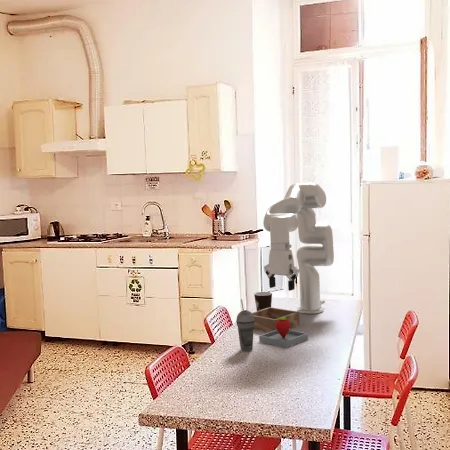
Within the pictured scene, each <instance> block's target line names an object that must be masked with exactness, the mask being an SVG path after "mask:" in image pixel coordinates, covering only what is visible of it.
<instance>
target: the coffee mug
mask: <svg viewBox="0 0 450 450" xmlns="http://www.w3.org/2000/svg"><path fill="white" fill-rule="evenodd" d="M253 295H254V296H253V297H254V302H255V308H256V311H259V310H263V309H266V308H269V307H272V300H273V292H269V291H257V292H254V294H253Z"/></svg>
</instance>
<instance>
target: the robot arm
mask: <svg viewBox="0 0 450 450" xmlns="http://www.w3.org/2000/svg"><path fill="white" fill-rule="evenodd" d="M326 204H327V195H326V192H325V191H324V189H323V188H322V187H321V186H320V185H319V184H318V183H315V182H299V183H298V182H297V183H293V184H291V185H289V187H288V189H287V191H286V193H285V195H284V197H283V199H281V200H279V201H278V202H275V203H274V204H272V205H271V206H269V208H268V209H267V210H266V213H265V215H264V217H263V221H262V222H263V228H264V229H265V231H267V232H269V233H270V234H269V236H270V238H269V239H270V250H269V255H268V263H267V264H266V265H264V266H263V270H264V273H265V275H266V276H267V278H268V281H269V289H272V288H275V287H276V285H277V284H276V277H275V276H283V277H284V276H286V277H287V278H288V280H287V284H288V285H287V290H288V291H289V292H290V291H293V290H295V289H296V288H295V285H296V284H295V280H296V279H297V278H298V276H299V298H300V299H299V303H300V304H299V305H300V306H299V307H297V308H296V309H297V310H296V312H299V314H305V315H306V314H307V315H308V314H309V315H311V314H312V315H313V314H319V313H323V312H324V311H325V310H324V307H322V305H325V304H326V301H325V300H324V299H321V291H320V290H321V289H320V288H321V286H320V272H318V270H317V269H316V267H330V266H332V265H333V264H334V261H335V260H334V259H335V255H334V254H335V253H334V236H333V229H332V227H331V226H330V225H329V224H328V223H317V222H316V220H317V219H316V218H317V217H316V212H315V210H314V209H322V208H324V207H325V205H326ZM296 230H297V231H298V233H297V234H298V240H299V241H300V243H302V244H306V245H305V246H301V247H299V248H298V249H297V251H296V259H297V265H298V267H295V259H294V255H293V254H294V253H293V251H292V249H291V248H292V244H291V242H290V233H292V232H294V231H296ZM320 245H321V246H320Z"/></svg>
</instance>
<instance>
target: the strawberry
mask: <svg viewBox="0 0 450 450" xmlns="http://www.w3.org/2000/svg"><path fill="white" fill-rule="evenodd" d="M278 319H279V320H278V321H277V322H276V324H275V326H276V330H277V331H278V333H279V334H280V335H281V336H282V338H285V337H286V335H287V333H288V331H289V330H291V329H290V322H289V320H287V319H289V318H286V317H283V318H278Z"/></svg>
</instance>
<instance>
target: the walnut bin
mask: <svg viewBox="0 0 450 450" xmlns="http://www.w3.org/2000/svg"><path fill="white" fill-rule="evenodd" d="M251 313H252V314H253V316H254V320H255V321H254V329H253V331H254V330H256V331H260V332H261V331H262V332H266V333H268V332H271V331H274V330H276V326H275V324H276V322H277V321H278V320H279V319H278V318H283V317H286V318H289V319H287V320H289V322H290V329H289V330H292V329H293V328H295V327H299V326H301V325H300V323H301V322H300V321H301V319H300V312H298V311H297V310H291V309H289V310H288V309H283V308H279V307H272V306H271V307H269V308H266V309H263V310H259V311H257V310H256V311H253V312H251Z"/></svg>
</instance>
